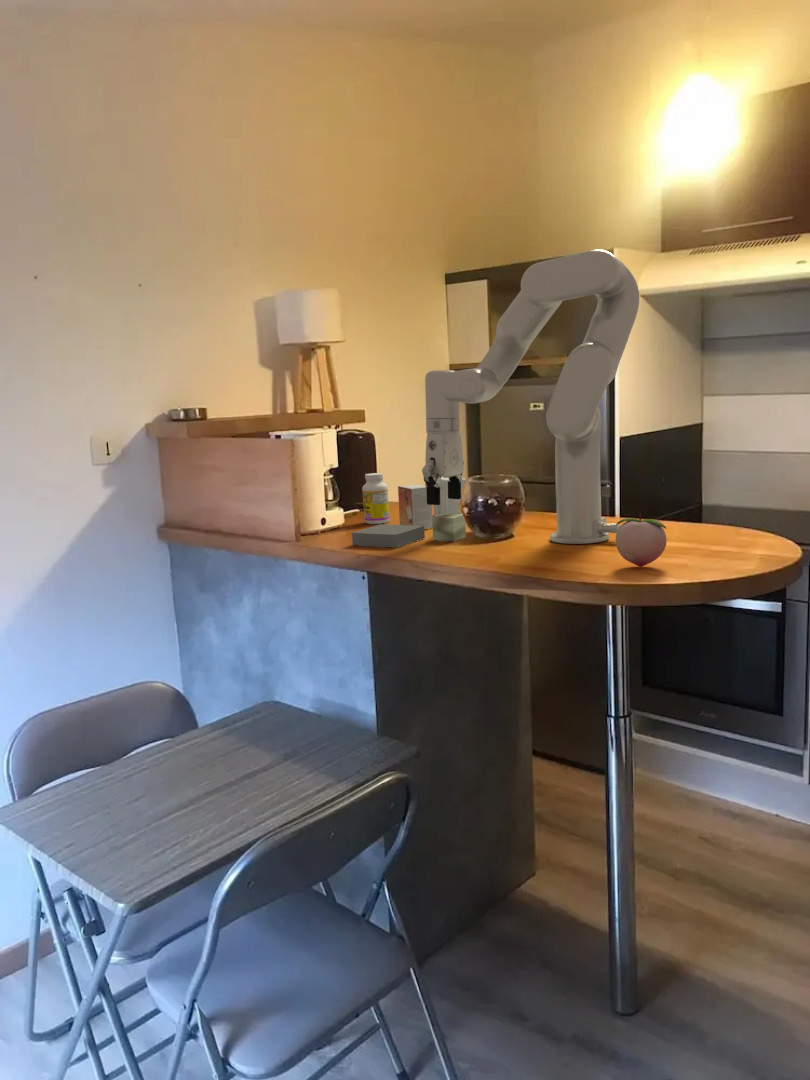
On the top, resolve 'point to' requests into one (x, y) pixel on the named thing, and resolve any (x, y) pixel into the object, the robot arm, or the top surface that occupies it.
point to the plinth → (388, 535)
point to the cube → (448, 527)
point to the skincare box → (447, 499)
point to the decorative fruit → (640, 540)
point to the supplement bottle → (375, 499)
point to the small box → (414, 506)
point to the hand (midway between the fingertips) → (444, 501)
